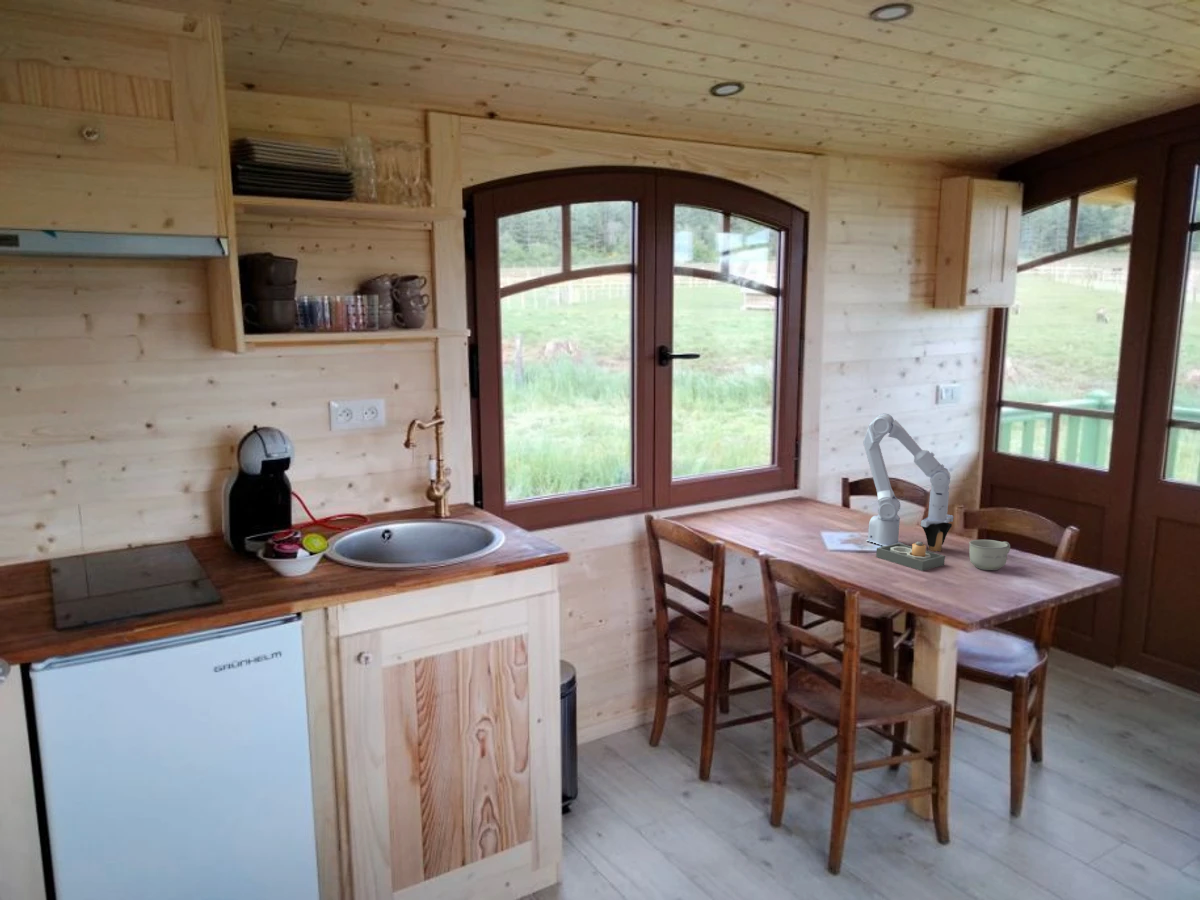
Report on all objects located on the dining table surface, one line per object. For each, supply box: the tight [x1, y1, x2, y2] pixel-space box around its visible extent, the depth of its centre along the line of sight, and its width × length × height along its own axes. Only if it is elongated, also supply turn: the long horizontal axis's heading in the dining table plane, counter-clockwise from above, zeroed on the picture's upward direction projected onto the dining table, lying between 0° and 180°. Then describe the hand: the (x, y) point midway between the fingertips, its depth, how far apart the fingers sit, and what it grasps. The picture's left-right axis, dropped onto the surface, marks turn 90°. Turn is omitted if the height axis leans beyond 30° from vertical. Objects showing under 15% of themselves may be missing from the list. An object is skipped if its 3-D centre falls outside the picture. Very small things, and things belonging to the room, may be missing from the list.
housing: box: [875, 541, 946, 572], centre depth 261 cm, size 17×11×7 cm, turn 33°
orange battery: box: [928, 530, 943, 552], centre depth 274 cm, size 4×4×7 cm
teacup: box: [968, 539, 1011, 571], centre depth 255 cm, size 14×11×8 cm
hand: (935, 545), depth 274 cm, fingers closed on orange battery, 4 cm apart
